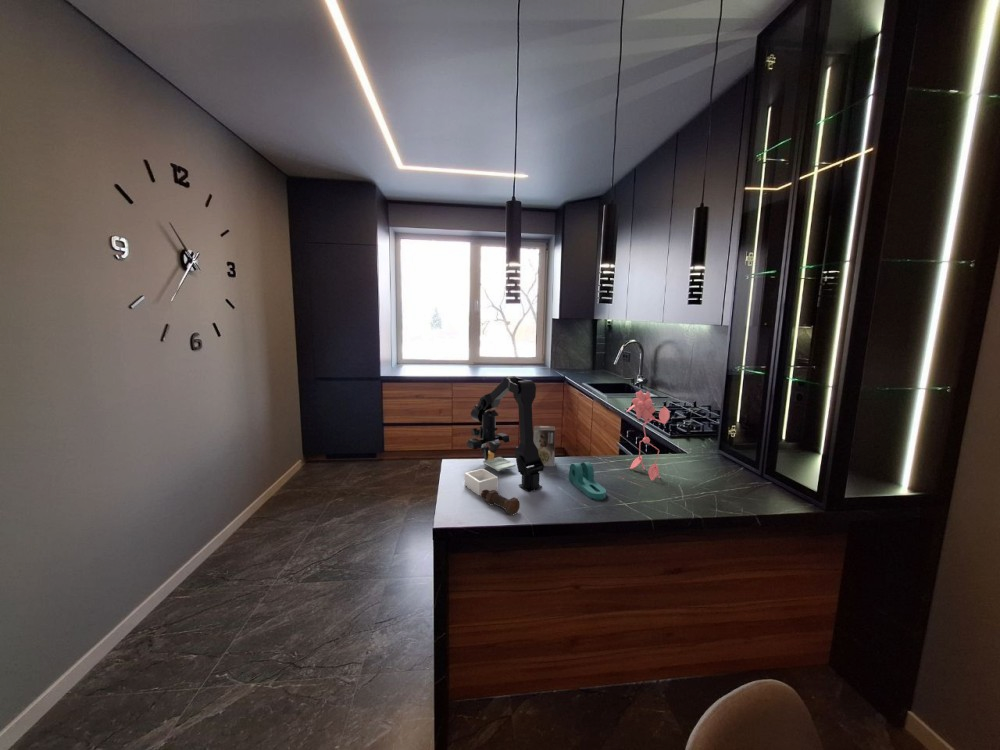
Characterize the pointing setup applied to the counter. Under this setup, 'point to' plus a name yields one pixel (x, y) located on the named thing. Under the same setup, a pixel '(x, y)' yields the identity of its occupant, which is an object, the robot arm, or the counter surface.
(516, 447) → the robot arm
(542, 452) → the coffee box
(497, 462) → the lid
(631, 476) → the counter surface
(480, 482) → the parts tub
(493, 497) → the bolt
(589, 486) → the bracket
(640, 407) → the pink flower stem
